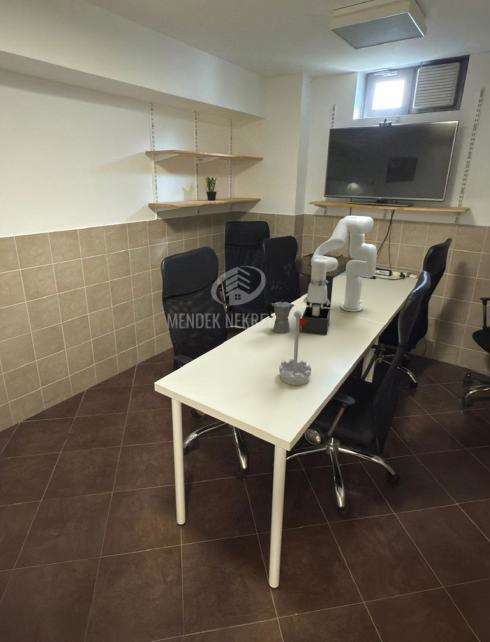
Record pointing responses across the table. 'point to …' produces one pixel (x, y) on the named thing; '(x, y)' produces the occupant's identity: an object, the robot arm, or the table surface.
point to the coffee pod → (316, 310)
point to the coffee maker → (316, 322)
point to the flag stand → (295, 360)
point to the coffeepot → (280, 315)
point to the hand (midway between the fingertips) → (315, 314)
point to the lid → (329, 289)
